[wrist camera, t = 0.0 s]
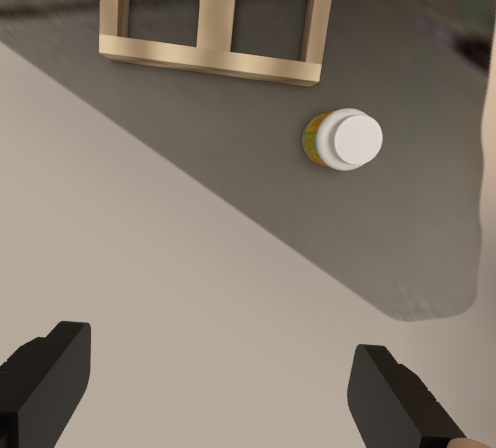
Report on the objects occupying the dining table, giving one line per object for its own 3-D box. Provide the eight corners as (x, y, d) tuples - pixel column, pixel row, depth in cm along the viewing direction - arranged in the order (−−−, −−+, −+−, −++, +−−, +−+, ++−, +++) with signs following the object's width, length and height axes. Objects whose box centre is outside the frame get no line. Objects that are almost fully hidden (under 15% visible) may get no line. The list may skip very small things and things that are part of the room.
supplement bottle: (292, 130, 38) (313, 128, 29) (336, 102, 38) (373, 91, 28) (316, 174, 39) (344, 186, 30) (360, 148, 39) (402, 151, 29)
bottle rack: (111, 60, 35) (99, 52, 32) (114, -56, 33) (101, -78, 30) (310, 86, 37) (319, 81, 34) (326, -23, 35) (337, -40, 31)
